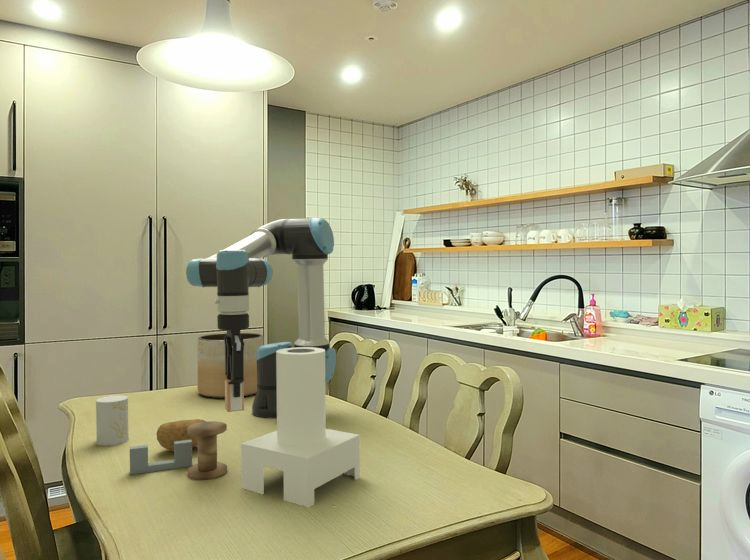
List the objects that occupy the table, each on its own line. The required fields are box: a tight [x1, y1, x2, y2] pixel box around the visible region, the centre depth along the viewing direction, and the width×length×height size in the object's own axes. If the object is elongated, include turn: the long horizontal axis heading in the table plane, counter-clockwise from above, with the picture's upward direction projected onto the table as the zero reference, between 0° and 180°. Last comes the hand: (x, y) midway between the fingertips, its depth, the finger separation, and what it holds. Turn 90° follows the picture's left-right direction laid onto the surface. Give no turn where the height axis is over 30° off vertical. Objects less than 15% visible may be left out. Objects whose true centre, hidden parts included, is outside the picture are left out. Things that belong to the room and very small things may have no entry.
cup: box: [95, 395, 130, 447], centre depth 157 cm, size 8×8×12 cm
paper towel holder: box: [240, 347, 361, 508], centre depth 125 cm, size 19×19×30 cm
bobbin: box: [187, 420, 228, 481], centre depth 132 cm, size 9×9×11 cm
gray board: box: [129, 440, 193, 476], centre depth 135 cm, size 14×2×6 cm, turn 113°
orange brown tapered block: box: [224, 380, 245, 413], centre depth 137 cm, size 4×4×7 cm
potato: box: [156, 418, 207, 452], centre depth 149 cm, size 10×14×8 cm
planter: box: [197, 332, 264, 399], centre depth 218 cm, size 25×25×22 cm
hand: (234, 407), depth 137 cm, fingers closed on orange brown tapered block, 4 cm apart
